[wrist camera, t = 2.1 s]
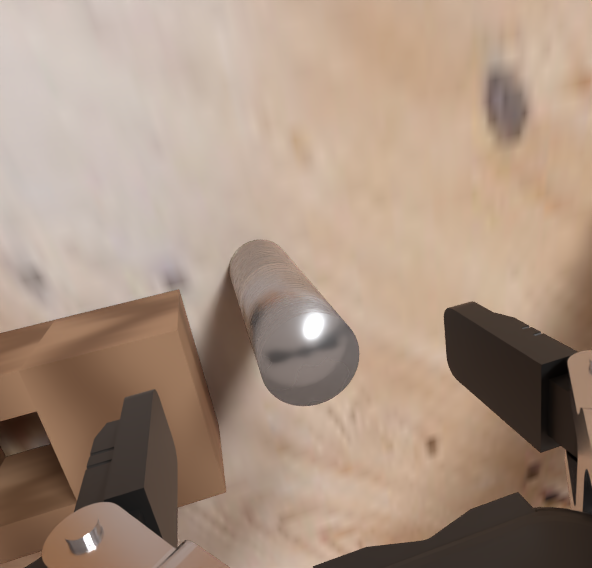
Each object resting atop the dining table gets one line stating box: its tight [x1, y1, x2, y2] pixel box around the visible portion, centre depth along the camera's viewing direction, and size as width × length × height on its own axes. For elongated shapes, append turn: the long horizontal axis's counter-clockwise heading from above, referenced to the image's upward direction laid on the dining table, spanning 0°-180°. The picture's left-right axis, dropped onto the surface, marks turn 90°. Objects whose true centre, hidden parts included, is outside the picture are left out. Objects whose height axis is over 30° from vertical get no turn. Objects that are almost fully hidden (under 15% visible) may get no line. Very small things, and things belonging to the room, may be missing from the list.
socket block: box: [0, 290, 226, 564], centre depth 20 cm, size 16×8×5 cm, turn 102°
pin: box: [229, 240, 359, 406], centre depth 18 cm, size 3×3×10 cm
